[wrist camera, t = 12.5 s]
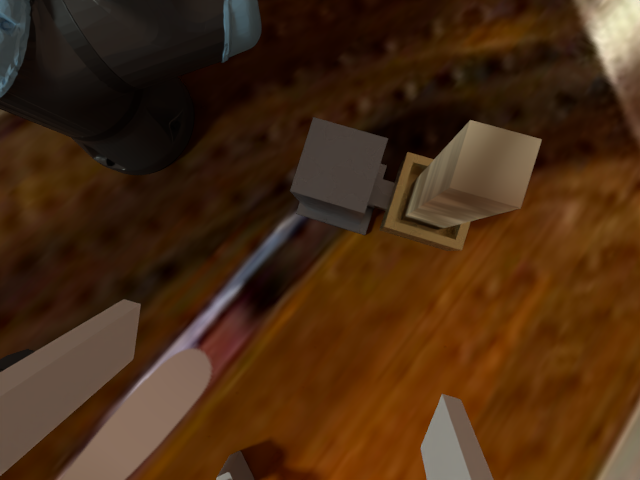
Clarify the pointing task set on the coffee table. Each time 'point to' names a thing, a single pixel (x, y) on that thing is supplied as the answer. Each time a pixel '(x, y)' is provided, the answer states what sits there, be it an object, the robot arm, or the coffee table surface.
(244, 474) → the lighter
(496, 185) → the block
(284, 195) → the coffee table surface
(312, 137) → the bracket
